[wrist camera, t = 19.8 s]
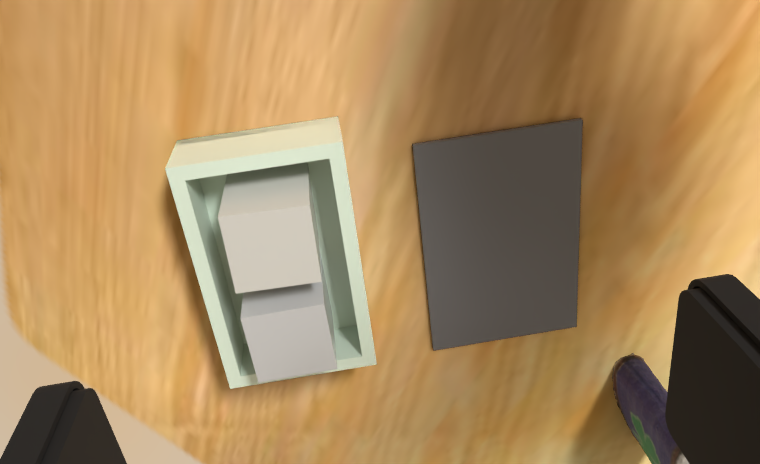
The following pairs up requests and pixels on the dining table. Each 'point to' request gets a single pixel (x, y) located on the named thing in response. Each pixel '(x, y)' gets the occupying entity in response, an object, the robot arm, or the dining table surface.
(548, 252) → the mat
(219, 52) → the dining table surface
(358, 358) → the bin
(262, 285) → the stone
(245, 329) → the grey block
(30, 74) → the dining table surface
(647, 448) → the flask
